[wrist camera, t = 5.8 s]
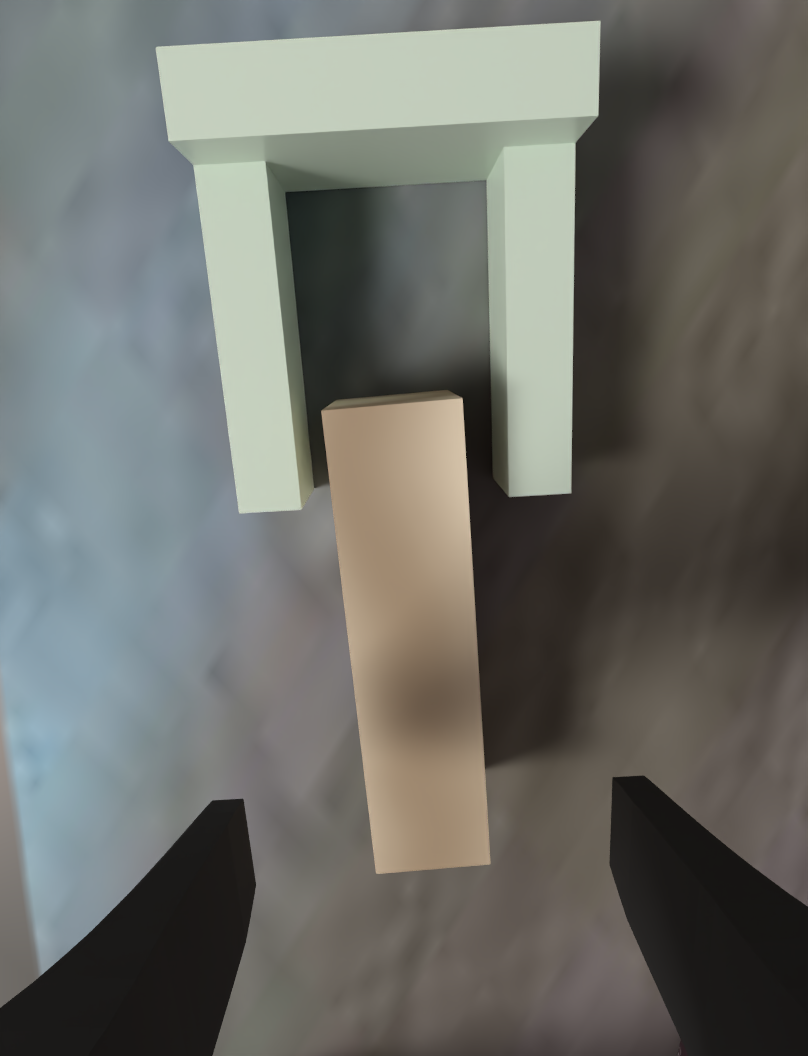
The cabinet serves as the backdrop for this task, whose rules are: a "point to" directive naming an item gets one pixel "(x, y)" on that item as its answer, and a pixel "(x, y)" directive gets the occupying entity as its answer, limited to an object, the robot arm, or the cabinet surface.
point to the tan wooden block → (411, 623)
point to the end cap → (388, 160)
